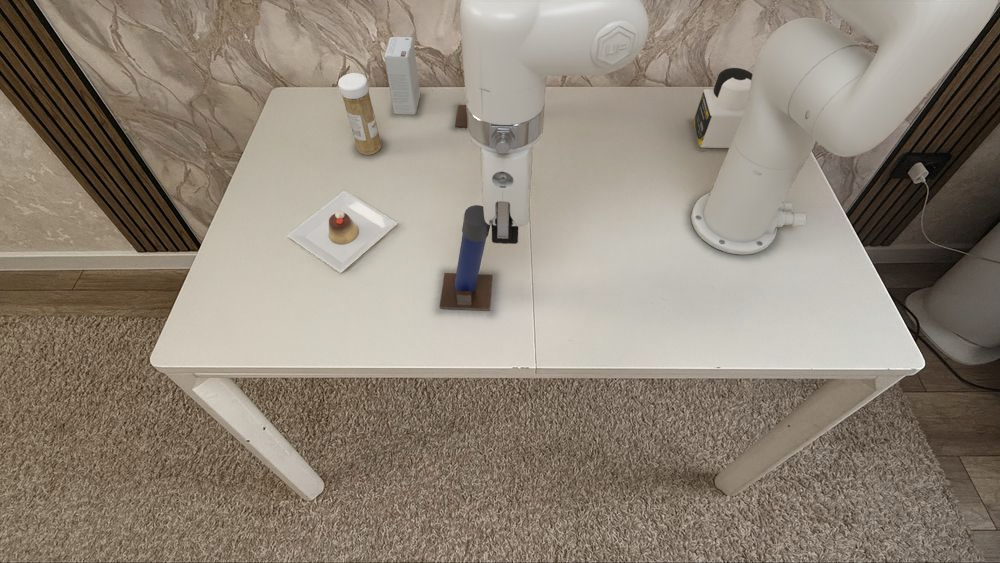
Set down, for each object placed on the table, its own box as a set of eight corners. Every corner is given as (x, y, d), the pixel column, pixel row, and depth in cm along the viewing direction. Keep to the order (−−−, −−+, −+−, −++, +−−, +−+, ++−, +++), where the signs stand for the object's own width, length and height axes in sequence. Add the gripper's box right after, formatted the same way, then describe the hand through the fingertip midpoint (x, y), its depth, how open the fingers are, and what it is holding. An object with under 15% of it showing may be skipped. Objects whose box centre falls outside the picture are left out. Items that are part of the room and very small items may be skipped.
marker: (477, 278, 79) (493, 207, 67) (475, 297, 77) (491, 227, 65) (454, 275, 79) (465, 202, 67) (451, 294, 77) (463, 223, 65)
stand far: (495, 107, 104) (495, 93, 101) (493, 128, 100) (493, 114, 98) (458, 106, 104) (457, 92, 102) (455, 127, 101) (453, 113, 98)
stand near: (492, 276, 81) (492, 263, 78) (489, 311, 78) (489, 298, 75) (444, 274, 81) (442, 261, 79) (439, 309, 78) (437, 296, 75)
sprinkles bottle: (386, 149, 97) (371, 82, 86) (363, 159, 96) (344, 92, 85) (375, 135, 100) (359, 68, 89) (352, 145, 98) (332, 77, 87)
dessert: (342, 277, 81) (334, 257, 77) (288, 239, 86) (277, 218, 82) (399, 227, 87) (394, 206, 83) (345, 194, 91) (338, 173, 87)
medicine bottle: (692, 122, 101) (712, 62, 91) (732, 122, 101) (756, 62, 91) (699, 148, 97) (720, 88, 87) (740, 149, 96) (767, 89, 87)
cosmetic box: (398, 95, 106) (387, 35, 97) (422, 95, 106) (413, 35, 96) (393, 115, 103) (381, 55, 93) (417, 116, 103) (408, 56, 93)
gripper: (543, 171, 50) (534, 289, 65) (544, 72, 59) (536, 196, 73) (459, 168, 50) (469, 286, 65) (473, 70, 59) (479, 194, 74)
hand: (505, 238), depth 69 cm, fingers closed
